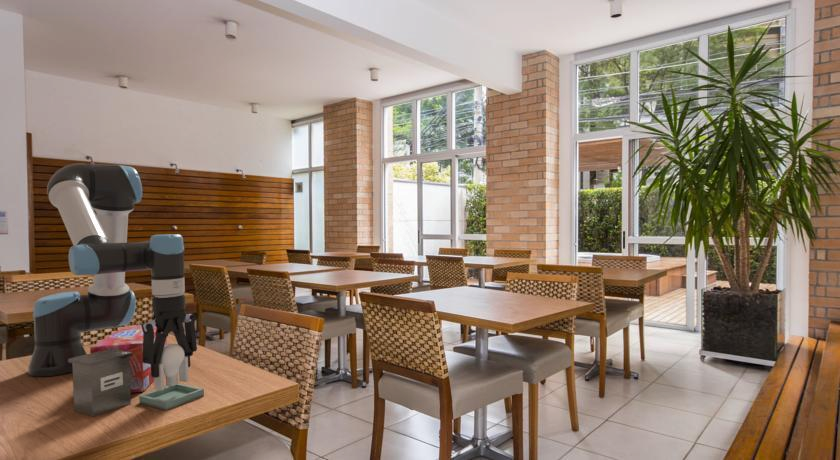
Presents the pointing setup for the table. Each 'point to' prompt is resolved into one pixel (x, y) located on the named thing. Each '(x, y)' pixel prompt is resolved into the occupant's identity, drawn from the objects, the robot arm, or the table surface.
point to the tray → (171, 396)
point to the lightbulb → (172, 362)
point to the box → (130, 342)
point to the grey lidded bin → (101, 381)
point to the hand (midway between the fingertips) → (171, 384)
